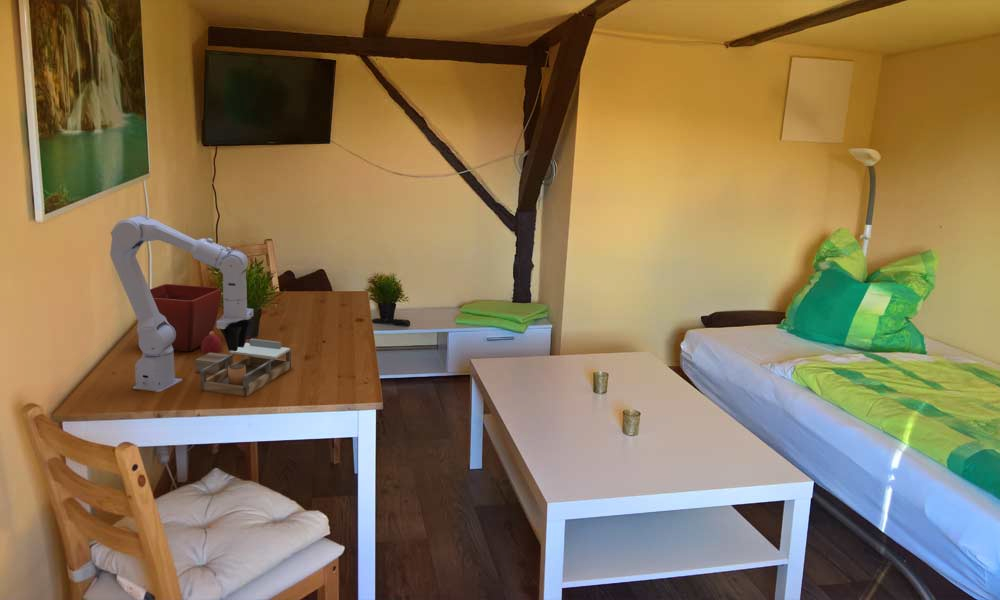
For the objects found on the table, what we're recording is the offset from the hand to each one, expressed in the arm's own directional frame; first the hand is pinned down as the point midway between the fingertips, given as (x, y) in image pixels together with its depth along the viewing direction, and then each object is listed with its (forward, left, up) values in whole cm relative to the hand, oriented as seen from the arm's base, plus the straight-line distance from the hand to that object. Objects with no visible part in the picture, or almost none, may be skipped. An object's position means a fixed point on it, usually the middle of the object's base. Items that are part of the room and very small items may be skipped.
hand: (236, 348), depth 192 cm
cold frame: (+6, 0, -10) cm, 12 cm away
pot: (0, 0, -10) cm, 10 cm away
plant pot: (+26, +35, -11) cm, 45 cm away
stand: (+9, +12, -10) cm, 18 cm away
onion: (+19, +19, -11) cm, 29 cm away
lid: (+12, 0, -4) cm, 13 cm away
